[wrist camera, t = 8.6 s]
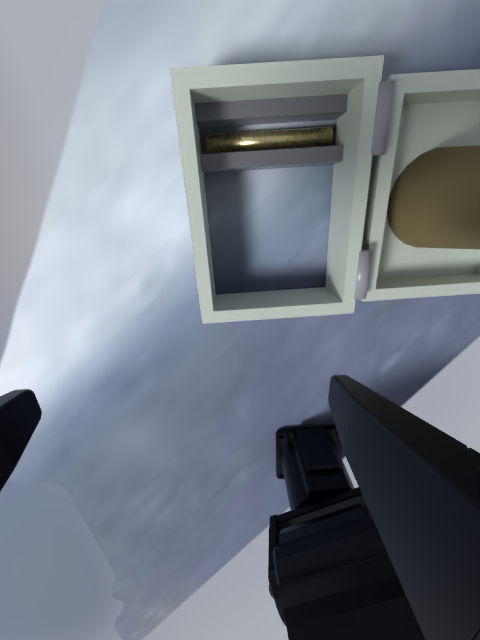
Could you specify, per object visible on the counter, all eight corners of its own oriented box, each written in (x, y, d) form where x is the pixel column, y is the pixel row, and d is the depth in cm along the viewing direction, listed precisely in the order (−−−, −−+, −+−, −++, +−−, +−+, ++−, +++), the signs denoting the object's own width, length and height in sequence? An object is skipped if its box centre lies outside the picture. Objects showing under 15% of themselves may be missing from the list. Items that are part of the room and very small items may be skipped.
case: (344, 295, 21) (367, 313, 18) (206, 305, 21) (202, 324, 17) (366, 84, 16) (403, 51, 12) (181, 95, 16) (168, 66, 12)
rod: (333, 139, 16) (332, 122, 16) (206, 147, 16) (205, 130, 16) (327, 149, 17) (327, 133, 17) (208, 157, 17) (207, 141, 17)
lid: (473, 280, 21) (508, 291, 18) (345, 289, 21) (361, 301, 18) (531, 84, 16) (589, 62, 13) (365, 95, 16) (391, 74, 13)
